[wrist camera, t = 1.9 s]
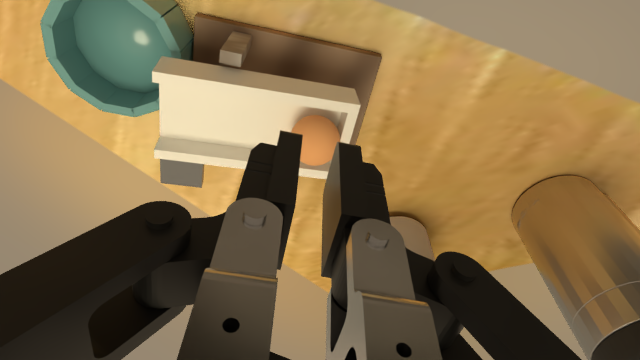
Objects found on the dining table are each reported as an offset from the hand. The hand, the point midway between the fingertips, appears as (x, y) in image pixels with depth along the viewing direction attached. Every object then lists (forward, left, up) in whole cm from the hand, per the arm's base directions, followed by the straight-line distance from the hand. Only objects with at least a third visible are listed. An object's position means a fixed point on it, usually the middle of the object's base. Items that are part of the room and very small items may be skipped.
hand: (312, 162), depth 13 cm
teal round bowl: (+15, +7, -25) cm, 30 cm away
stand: (+2, +10, -25) cm, 27 cm away
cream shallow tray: (+4, +11, -20) cm, 23 cm away
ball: (-1, +9, -17) cm, 20 cm away
